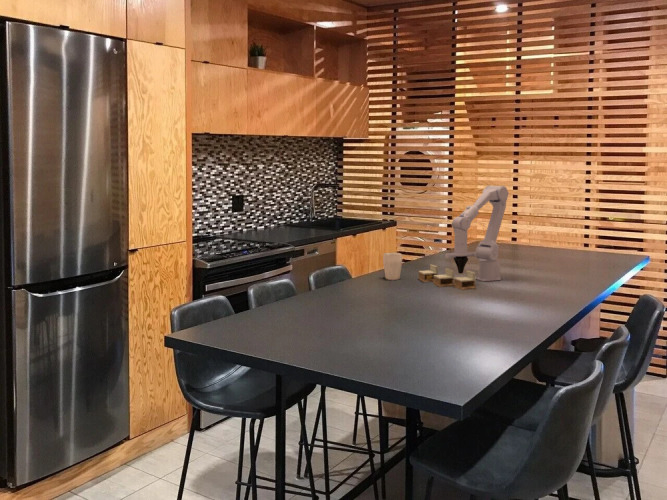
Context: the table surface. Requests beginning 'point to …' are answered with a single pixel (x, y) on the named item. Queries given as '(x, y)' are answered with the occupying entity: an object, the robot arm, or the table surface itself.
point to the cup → (392, 265)
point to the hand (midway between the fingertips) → (460, 273)
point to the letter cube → (428, 276)
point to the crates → (448, 282)
